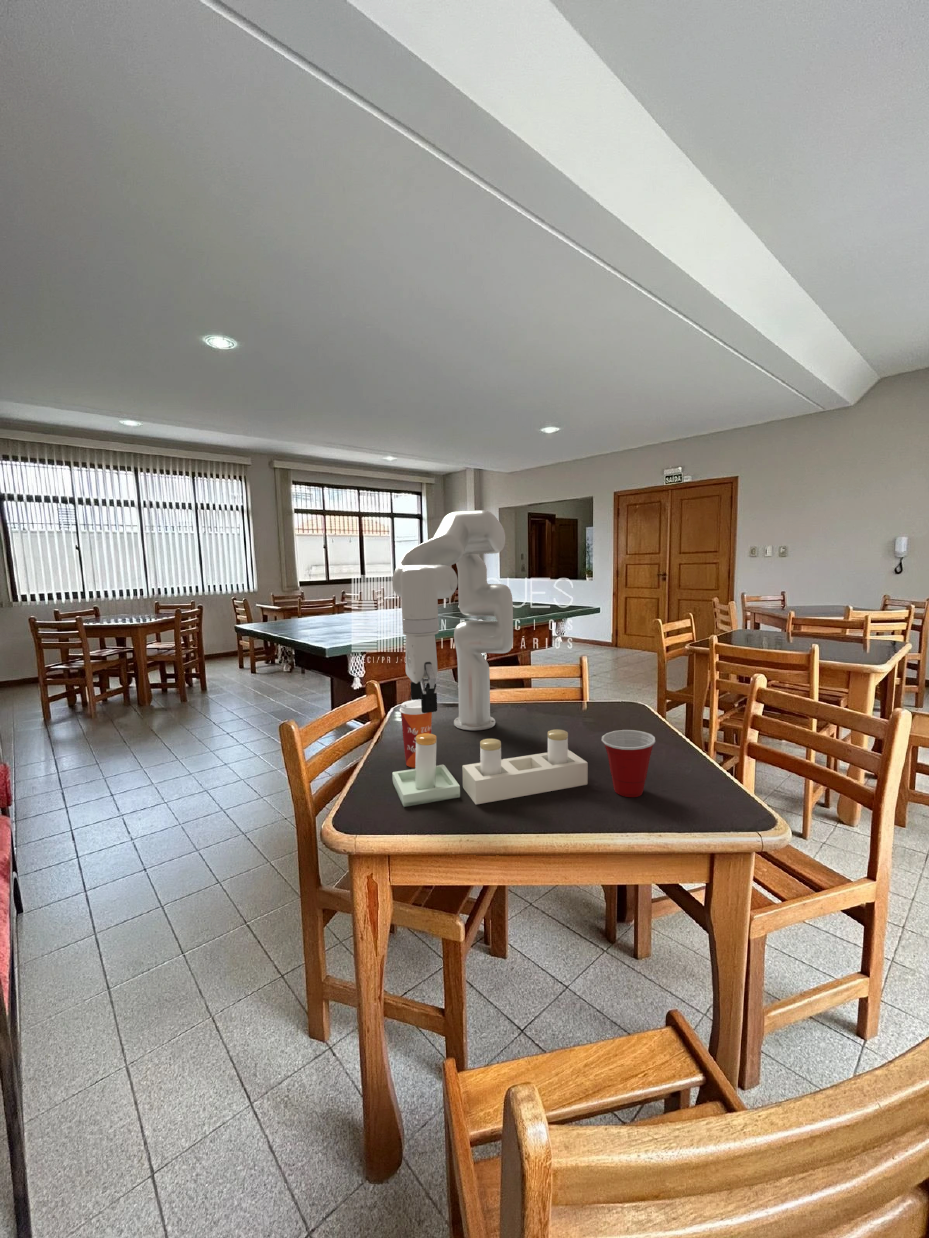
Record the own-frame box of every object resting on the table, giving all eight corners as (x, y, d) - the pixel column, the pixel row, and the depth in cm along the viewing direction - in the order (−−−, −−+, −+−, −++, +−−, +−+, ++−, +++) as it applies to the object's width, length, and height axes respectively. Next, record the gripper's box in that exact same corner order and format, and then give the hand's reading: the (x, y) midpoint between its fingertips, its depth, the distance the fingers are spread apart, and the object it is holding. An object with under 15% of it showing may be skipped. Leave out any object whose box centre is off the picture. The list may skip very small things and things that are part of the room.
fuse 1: (478, 789, 109) (477, 740, 108) (496, 785, 110) (496, 737, 109) (485, 797, 105) (484, 747, 103) (504, 794, 106) (504, 744, 105)
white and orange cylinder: (413, 782, 110) (414, 734, 109) (432, 780, 112) (433, 732, 110) (417, 791, 106) (418, 741, 105) (437, 789, 108) (438, 739, 106)
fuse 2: (544, 777, 114) (544, 730, 113) (561, 775, 115) (561, 728, 114) (553, 785, 110) (553, 736, 109) (571, 782, 111) (571, 734, 110)
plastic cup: (597, 779, 113) (598, 727, 111) (647, 781, 111) (648, 728, 110) (604, 802, 102) (605, 745, 101) (660, 804, 100) (661, 746, 99)
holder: (462, 787, 110) (462, 765, 109) (567, 769, 118) (567, 749, 117) (475, 804, 102) (475, 780, 101) (587, 784, 110) (587, 762, 110)
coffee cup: (410, 772, 118) (408, 710, 116) (395, 761, 125) (393, 702, 123) (441, 764, 122) (439, 704, 121) (425, 754, 129) (423, 697, 128)
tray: (392, 782, 113) (392, 772, 112) (444, 774, 117) (443, 764, 116) (403, 806, 101) (403, 795, 101) (460, 797, 105) (459, 785, 105)
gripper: (395, 622, 112) (398, 696, 114) (412, 633, 96) (415, 720, 98) (427, 619, 114) (430, 692, 117) (449, 630, 98) (452, 715, 101)
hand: (423, 705), depth 107 cm, fingers open, 9 cm apart
